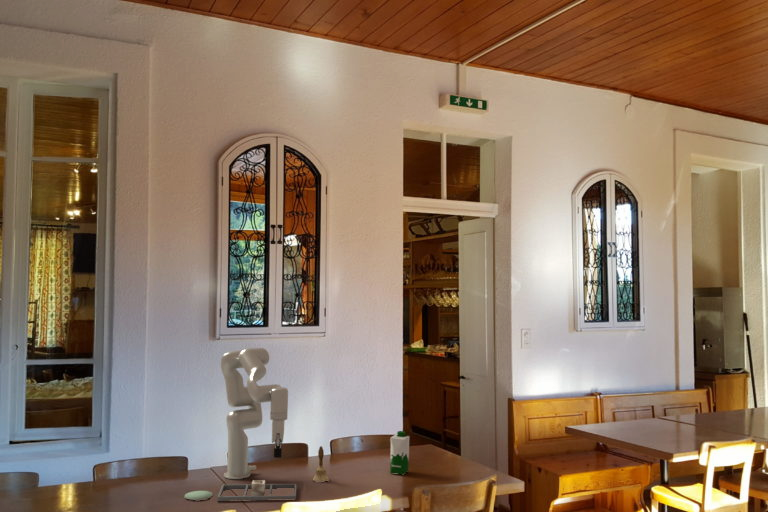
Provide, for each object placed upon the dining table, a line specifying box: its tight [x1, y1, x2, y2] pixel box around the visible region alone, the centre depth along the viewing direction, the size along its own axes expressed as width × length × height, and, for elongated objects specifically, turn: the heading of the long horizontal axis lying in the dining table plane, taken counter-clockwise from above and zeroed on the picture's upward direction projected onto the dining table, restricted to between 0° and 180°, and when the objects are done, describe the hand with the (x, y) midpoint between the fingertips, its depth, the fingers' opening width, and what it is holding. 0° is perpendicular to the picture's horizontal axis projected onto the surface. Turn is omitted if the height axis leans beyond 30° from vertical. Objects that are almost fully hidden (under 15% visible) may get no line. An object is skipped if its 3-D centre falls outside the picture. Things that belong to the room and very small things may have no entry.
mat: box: [184, 490, 214, 500], centre depth 305 cm, size 12×12×1 cm
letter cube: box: [251, 479, 266, 496], centre depth 308 cm, size 6×6×6 cm
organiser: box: [216, 483, 297, 502], centre depth 308 cm, size 33×18×2 cm, turn 96°
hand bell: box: [312, 446, 330, 481], centre depth 333 cm, size 8×8×16 cm
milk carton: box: [389, 430, 410, 474], centre depth 348 cm, size 9×9×20 cm
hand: (277, 454), depth 309 cm, fingers open, 9 cm apart
